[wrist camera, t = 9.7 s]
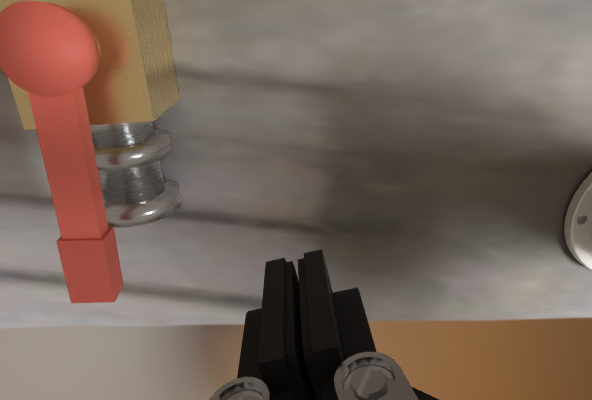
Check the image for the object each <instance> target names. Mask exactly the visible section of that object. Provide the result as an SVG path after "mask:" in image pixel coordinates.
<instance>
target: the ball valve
mask: <svg viewBox="0 0 592 400" xmlns="http://www.w3.org/2000/svg"><path fill="white" fill-rule="evenodd" d="M21 1H37V2H45V3H53V4H57V5H60V6H63V7H66V8H68V9H70V10H71V11H73V12H74V13H76V14H77V15H78V16H80V17H81V18H82V19H83V20H84V21H85V22H86V23H87V25H88V26H89V27H90V29H91V30H92V32H93V34H94V36H95V38H96V41H97V43H98V48H99V55H100V59H99V67H98V70H97V72H96V74H95V76H94V78H93V79H92V81H91V82H90V83H89V84H87V85H86V86H85V87H83V90H84V96H85V101H86V107H87V112H88V118H89V123H90V129H91V135H92V140H93V146H94V151H95V157H96V162H97V168H98V173H99V177H100V181H101V185H102V189H103V190H102V195H103V201H104V206H105V212H106V217H107V223H108V227H130V226H137V225H142V224H147V223H151V222H154V221H157V220H160V219H162V218H164V217H167V216H169V215H170V214H172V213H174V212H175V211H176V210H178V209H179V208H180V206H181V204H182V199H181V194H180V188H179V185H178V183H177V182H175V181H173V180H169V179H163V176H162V171H161V166H160V161H159V160H161V159H164V158H166V157H167V156H169V155H170V154H171V153H172V152H173V149H172V144H171V138H170V133H169V132H168V131H166V130H162V129H153V125H152V121H155V120H156V119H157V118H158V117H159V116H161V115H162V114H163V113H164V112H165V111H167V110H168V109H169V108H170V107H172V106H173V105H174V104H175V103H176V102H178V101H179V100H180V97H179V91H178V85H177V79H176V73H175V67H174V61H173V55H172V48H171V42H170V36H169V30H168V24H167V18H166V12H165V6H164V0H0V12H1V11H2V10H3V9H5V8H6V7H7V6H9V5H11V4H13V3H16V2H21ZM7 78H8V77H7ZM8 81H9V84H10V87H11V90H12V93H13V96H14V99H15V102H16V106H17V109H18V112H19V115H20V118H21V121H22V124H23V127H24V130H33V129H36V125H35V121H34V116H33V112H32V108H31V104H30V99H29V95H28V92H27V91H25V90H23V89H22V88H20V87H18V86H17V85H16V84H14V83H13V82H12V81H11V80H10V79H9V78H8Z"/></svg>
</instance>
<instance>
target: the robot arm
mask: <svg viewBox="0 0 592 400" xmlns="http://www.w3.org/2000/svg"><path fill="white" fill-rule="evenodd" d="M564 233H565V240H566V244H567V246H568V248H569V251H570V252H571V254H572V255H573V256H574V257H575V259H576V260H577V261H579V262H580V263H581V264H583V265H584V266H585V267H586V268H588V269H590V270H591V271H592V172H591V173H590V174H589V175H588V177H587V178H586V179H585V180H584V181H583V182H582V184H581V185H580V187H579V188H578V190H577V191H576V193H575V194H574V196H573V198H572V200H571V203H570V205H569V207H568V210H567V214H566V218H565V227H564ZM298 275H299V281H298V277H297V274H296V270H295V267H294V264H293V261H290V262H286V260H285V258H281V259H277V260H272V261H268V262H266V266H265V277H264V289H263V301H262V308H261V309H256V310H252V311H248V312H247V314H246V319H245V326H244V334H243V341H242V347H241V355H240V362H239V369H238V376H237V379H234V380H232V381H230V382H228V383H226V384H225V385H223V386H222V387H221V388H219V389H218V390H217V391H216V392H215V393H214V394H213V396H212V397H211V398H210V400H439V399H436V398H434V397H432V396H430V395H428V394H426V393H424V392H422V391H419V390H417V389H415V388H413V387H411V385H410V384H409V382H408V380H407V378H406V376H405V375H404V373H403V371H402V369H401V368H400V366H399V365H398V364H397V362H396V361H395V360H394V359H392V358H391V357H389V356H387V355H385V354H382V353H378V352H376V349H375V345H374V342H373V338H372V335H371V332H370V328H369V324H368V321H367V317H366V314H365V310H364V307H363V303H362V300H361V296H360V293H359V290H358V287H357V288H352V289H348V290H343V291H339V292H334V293H333V291H332V287H331V283H330V279H329V275H328V271H327V267H326V263H325V259H324V255H323V251H322V249H321V250H317V251H312V252H308V253H304V259H299V260H298Z"/></svg>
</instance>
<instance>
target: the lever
mask: <svg viewBox="0 0 592 400" xmlns="http://www.w3.org/2000/svg"><path fill="white" fill-rule="evenodd" d="M99 59H100V55H99V48H98V43H97V41H96V38H95V36H94V34H93V32H92V30H91V29H90V27H89V26H88V25H87V23H86V22H85V21H84V20H83V19H82V18H81V17H80V16H78V15H77V14H76V13H74V12H73V11H71V10H70V9H68V8H66V7H63V6H60V5H57V4H53V3H45V2H37V1H21V2H16V3H13V4H11V5H9V6H7V7H6V8H5V9H3V10H2V11H1V12H0V68H1V70H2V71H3V72H4V74H5V75H6V76H7V77H8V78H9V79H10V80H11V81H12V82H13V83H14V84H16V85H17V86H18V87H20V88H22V89H23V90H25V91H27V92H28V95H29V99H30V104H31V108H32V112H33V116H34V121H35V125H36V129H37V134H38V138H39V142H40V147H41V151H42V155H43V159H44V164H45V168H46V172H47V177H48V181H49V185H50V189H51V194H52V198H53V202H54V207H55V211H56V215H57V220H58V224H59V228H60V232H61V237H60V238H59V239H58V240H57V245H58V250H59V254H60V258H61V262H62V266H63V271H64V275H65V279H66V283H67V287H68V291H69V296H70V300H71V303H95V302H115V301H116V299H117V297H118V295H119V293H120V291H121V290H122V288H123V286H124V285H123V279H122V273H121V268H120V262H119V256H118V251H117V245H116V239H115V233H114V228H113V227H108V223H107V217H106V212H105V206H104V201H103V195H102V190H101V184H100V179H99V173H98V168H97V162H96V157H95V151H94V146H93V140H92V135H91V129H90V123H89V118H88V112H87V107H86V101H85V96H84V90H83V87H85V86H86V85H87V84H89V83H90V82H91V81H92V79H93V78H94V76H95V74H96V72H97V70H98V67H99Z"/></svg>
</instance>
